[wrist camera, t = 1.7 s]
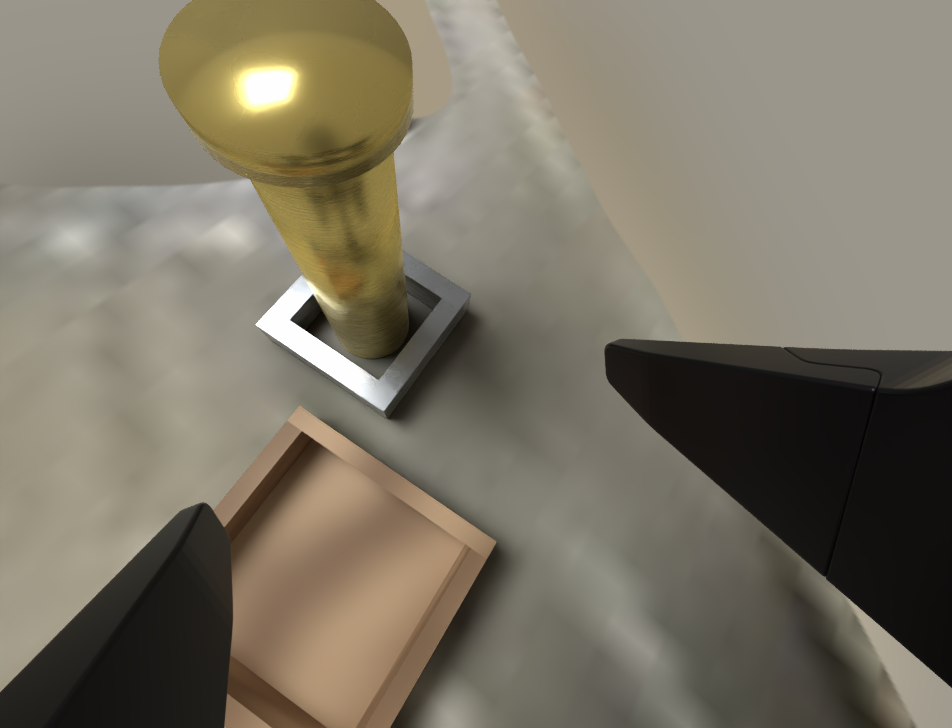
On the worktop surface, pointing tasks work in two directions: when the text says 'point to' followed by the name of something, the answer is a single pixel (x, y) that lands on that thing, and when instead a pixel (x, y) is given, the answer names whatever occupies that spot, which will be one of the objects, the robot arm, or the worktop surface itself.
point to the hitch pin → (309, 139)
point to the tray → (336, 582)
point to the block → (380, 395)
